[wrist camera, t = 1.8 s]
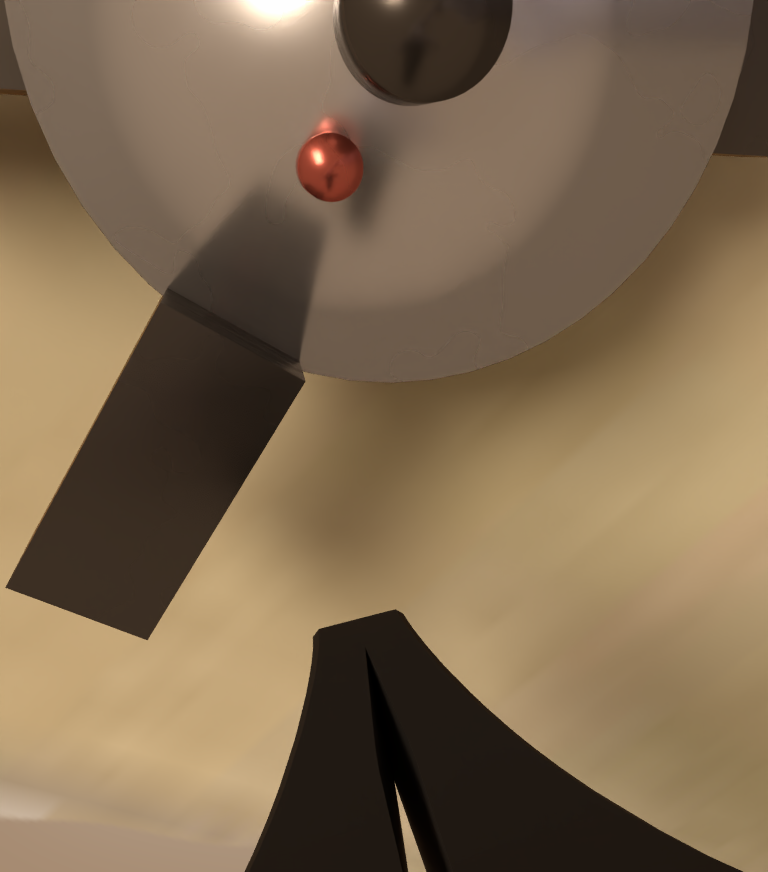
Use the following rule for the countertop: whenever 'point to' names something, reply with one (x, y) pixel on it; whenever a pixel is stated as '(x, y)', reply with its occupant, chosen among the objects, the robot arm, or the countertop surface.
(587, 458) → the countertop surface
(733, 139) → the pot
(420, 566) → the countertop surface
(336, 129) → the lid
